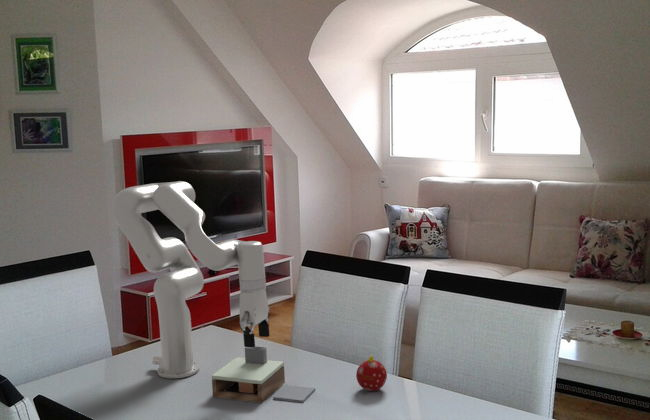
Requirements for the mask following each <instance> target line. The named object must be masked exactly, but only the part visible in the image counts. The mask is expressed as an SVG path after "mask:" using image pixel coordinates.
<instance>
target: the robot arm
mask: <svg viewBox="0 0 650 420" xmlns="http://www.w3.org/2000/svg"><path fill="white" fill-rule="evenodd" d="M195 200H196V192H195V189H194V188H193V186H192V184H190V183H188V182H186V181H182V180H178V181H170V182H168V181H167V182H155V183H154V182H153V183H148V184H141V185H135V186H130V187H126V188H124V189H122V190H120V191H119V192H117V194H116V195H115V197H114V198H113V201H112V205H111V206H112V215H113V218H114V219H113V220H114V221H115V223H116V224H117V226H118V228H119V229H120V230H121V232H122V233H123V234H124V236H125V237H126V239H127V240H128V242H129V244H130V246H131V247H132V248H133V251H134V252H135V255H137V257H138V259H139V261H140V262H141V263H140V264H142V265H143V267H144V268H145V270H146V271H147V272H149V273H153V274H154V273H159V272H163V271H166V270H169V271H168V272H165V273H163V274H162V275H160V276H159V277H158V278H157V279H156V281H154V284H153V295H154V299H155V302H156V303H155V304H156V306H157V313H158V322H159V323H158V324H159V325H158V326H159V337H160V338H159V339H160V350H161V351H160V352H161V355H154V356H153V357H152V362H151V363H152V365H158V366H159V368H157V375H158V376H159V377H161V378H163V379H172V380H173V379H175V380H176V379H183V378H188V377H190V376H193V375H195V374H197V373H198V372H199V370H200V366H199V364H198V363H196V362H194V355H193V354H194V351H193V350H194V349H193V337H192V334H193V333H192V321H191V320H192V317H191V312H190V309H189V307H188V305H187V303H186V300H187V299H188V298H190V297H194V296H195V295H197V294H199V293H200V292H201V291H202V290H203V288H204V283H205V281H204V275H203V273H202V271H201V269H200V267H199V266H198V264H197V262H196V261H195V258H196V259H197V260H198V261H199V262H200V263H201V264H203V265H204V266H205V267H207V268H208V269H209V270H212V271H216V272H217V271H219V272H220V271H222V270H225V269H228V268H230V267H233V266H236V265H237V266H238V267H237V268H238V278H239V280H238V281H239V291H240V292H239V325H240V329H241V331H242V332H241V333H242V335H243V345H244V348H245V347H256V340H255V333H254V329H255V326H257V325H258V326H257V327H258V336H259V337H261V338H262V337H263V338H269V337H270V325H269V323H270V319H269V318H270V305H268V296H267V290H266V289H267V284H266V283H267V280H266V267H265V253H264V246H263V244H262V242H261V241H257V240H248V241H245V240H239V239H235V238H233V239H227V240H225V241H221V242H218V243H215V242H214V241H213V240H212V239H211V238H210V237H209V236H207V235H206V233H205V232H204V230H203V228H202V226H203V224H204V221H205V220H206V214H205V212H204V211H203V209H202V208H200V207H199V206H198V205H197V204H196V203H195V202H196V201H195ZM157 210H159V211H160V212H161V213H162V214H163V215H164V216H166V218H167V219H169V220H170V222H172V223H173V224H174V225H175V226H176V227H177V228H178V229H179V230H180V231H181V232H183V234H184V239H185V240H184V241H185V242H186V245H187V246H186V245H185V243H184V242H183V241H182V240H181V239H178V238H177V237H173V236H171V237H170V236H169V237H165V238H161V237H160V236H159V234H158V233H157V231H156V229H155V227H154V226H153V224H151V222H150V221H148V220H147V219H146V218H145V217H144V216H142V214H143V213H144V214H145V213H147V212H149V213H150V212H153V211H157ZM194 257H195V258H194ZM249 327H250V328H249Z"/></svg>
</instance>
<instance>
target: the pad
mask: <svg viewBox="0 0 650 420" xmlns="http://www.w3.org/2000/svg"><path fill="white" fill-rule="evenodd" d="M315 391H316V387H310V386H309V387H307V386H298V385H290V384H286V385H284V386H283V387H282V388H280V390H279V391H278V392H276V393H275V395H273V397H272V398H273V399H272V400H279V401H288V402H295V403H296V402H297V403H305V402H306V400H307V399H308V398H309V397H311V395H312V394H313V393H314V392H315Z"/></svg>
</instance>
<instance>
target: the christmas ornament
mask: <svg viewBox="0 0 650 420" xmlns="http://www.w3.org/2000/svg"><path fill="white" fill-rule="evenodd" d="M355 377H356V381H357V383H358V385H359V386H360V387H361V388H362V389H363V390H364V391H369V392H376V391H378V390H380V389H381V388H382V387H384V385H385V384H386V381H387V380H388V379H387V377H388V374H387V369H386V367H385V366H384V365H383V364H382V363H381V362H380V361H378V360H375V359H374V356H373V355H369V357H368V360H364V361H363V362H362V363H360V364H359V366H358V367H357V370H356V376H355Z"/></svg>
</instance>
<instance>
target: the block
mask: <svg viewBox="0 0 650 420" xmlns="http://www.w3.org/2000/svg"><path fill="white" fill-rule="evenodd" d="M256 392H258V384H254V383H245V382H238V393H245V394H254V393H256Z"/></svg>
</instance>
